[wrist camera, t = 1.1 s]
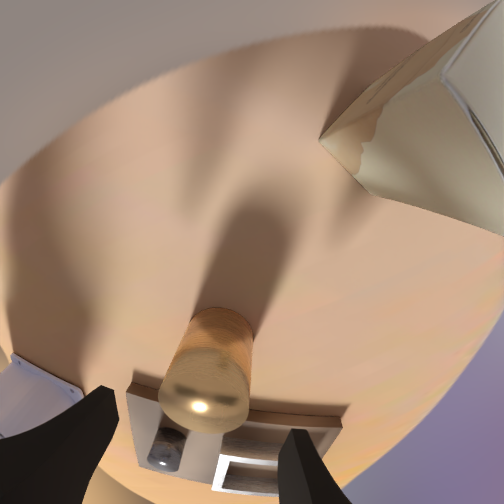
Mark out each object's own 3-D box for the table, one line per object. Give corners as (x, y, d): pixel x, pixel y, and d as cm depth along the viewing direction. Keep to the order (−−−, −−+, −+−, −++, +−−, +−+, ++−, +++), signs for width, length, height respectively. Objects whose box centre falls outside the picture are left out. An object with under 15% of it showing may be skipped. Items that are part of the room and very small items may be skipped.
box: (371, 82, 12) (505, -11, 2) (422, 138, 13) (584, 123, 2) (312, 144, 13) (439, 70, 3) (369, 201, 14) (539, 259, 3)
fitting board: (142, 458, 21) (131, 487, 17) (131, 382, 18) (110, 419, 14) (295, 483, 21) (297, 514, 17) (339, 416, 18) (350, 457, 14)
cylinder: (185, 355, 17) (158, 422, 11) (190, 301, 16) (157, 363, 10) (246, 367, 17) (240, 439, 11) (258, 314, 16) (257, 384, 10)
